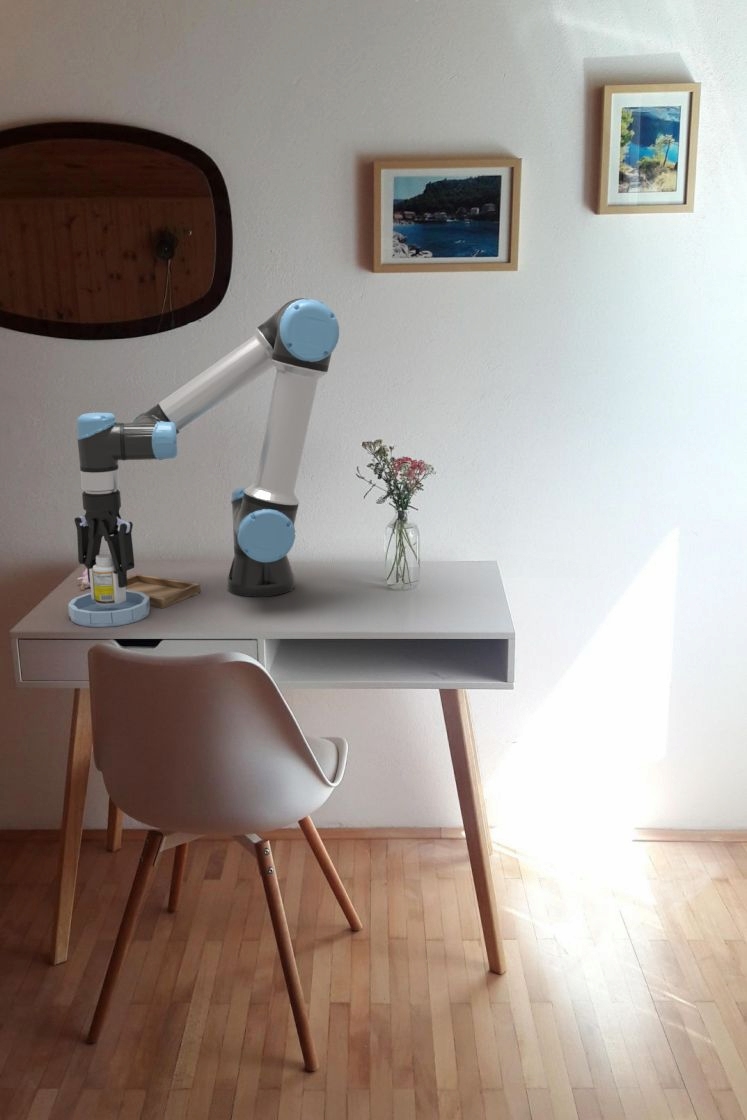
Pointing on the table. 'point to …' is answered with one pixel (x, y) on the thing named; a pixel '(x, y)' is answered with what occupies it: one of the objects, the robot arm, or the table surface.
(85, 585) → the rabbit figure
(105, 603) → the supplement bottle
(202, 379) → the robot arm
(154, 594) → the tray
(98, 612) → the bowl
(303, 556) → the table surface
